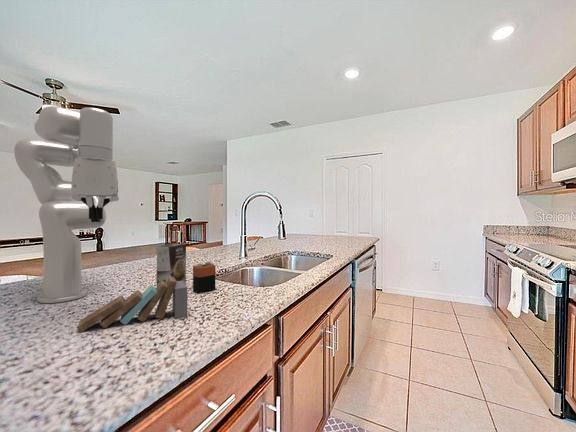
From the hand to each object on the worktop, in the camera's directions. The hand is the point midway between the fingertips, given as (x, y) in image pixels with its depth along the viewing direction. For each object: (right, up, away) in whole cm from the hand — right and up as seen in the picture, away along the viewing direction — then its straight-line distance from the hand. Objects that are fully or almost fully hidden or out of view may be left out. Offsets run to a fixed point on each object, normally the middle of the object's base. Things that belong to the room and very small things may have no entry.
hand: (95, 221), depth 76 cm
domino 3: (+11, -25, -6) cm, 28 cm away
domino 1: (+4, -25, -10) cm, 27 cm away
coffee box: (+11, -25, +24) cm, 37 cm away
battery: (+24, -25, +22) cm, 41 cm away
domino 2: (+8, -25, -8) cm, 27 cm away
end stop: (+23, -26, 0) cm, 34 cm away
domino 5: (+19, -25, -2) cm, 31 cm away
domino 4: (+15, -25, -4) cm, 29 cm away
